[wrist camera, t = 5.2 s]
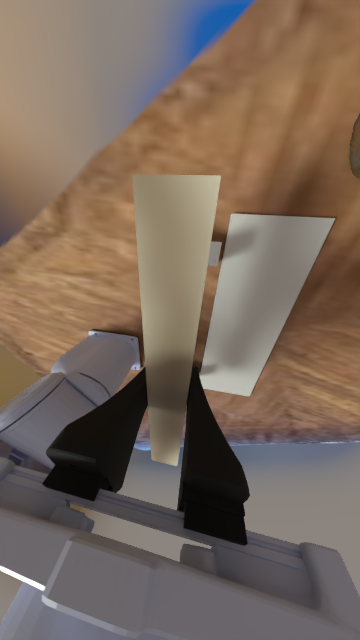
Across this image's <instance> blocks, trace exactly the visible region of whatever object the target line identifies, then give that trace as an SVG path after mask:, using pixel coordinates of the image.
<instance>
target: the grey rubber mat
mask: <svg viewBox="0 0 360 640" xmlns="http://www.w3.org/2000/svg"><path fill="white" fill-rule="evenodd" d="M334 220H335V218H317V217H295V216H274V215H252V214H231V217H230V223H229V228H228V233H227V238H226V243H225V248H224V253H223V259H222V264H221V269H220V274H219V279H218V284H217V289H216V295H215V300H214V305H213V310H212V315H211V320H210V326H209V331H208V336H207V341H206V346H205V351H204V356H203V362H202V367H201V372H200V380H201V384H202V387H203V388H204V389H210V390H215V391H221V392H227V393H233V394H238V395H244V396H250V394H251V392H252V390H253V388H254V386H255V384H256V382H257V380H258V378H259V376H260V374H261V371H262V369H263V367H264V365H265V363H266V361H267V359H268V357H269V355H270V353H271V351H272V349H273V347H274V345H275V342H276V340H277V338H278V336H279V334H280V332H281V330H282V328H283V326H284V324H285V322H286V320H287V318H288V316H289V314H290V311H291V309H292V307H293V305H294V303H295V301H296V299H297V297H298V295H299V293H300V291H301V289H302V287H303V285H304V282H305V280H306V278H307V276H308V274H309V272H310V270H311V268H312V266H313V264H314V262H315V260H316V258H317V256H318V253H319V251H320V249H321V247H322V245H323V243H324V241H325V239H326V237H327V235H328V233H329V231H330V229H331V227H332V224H333V222H334Z"/></svg>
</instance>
